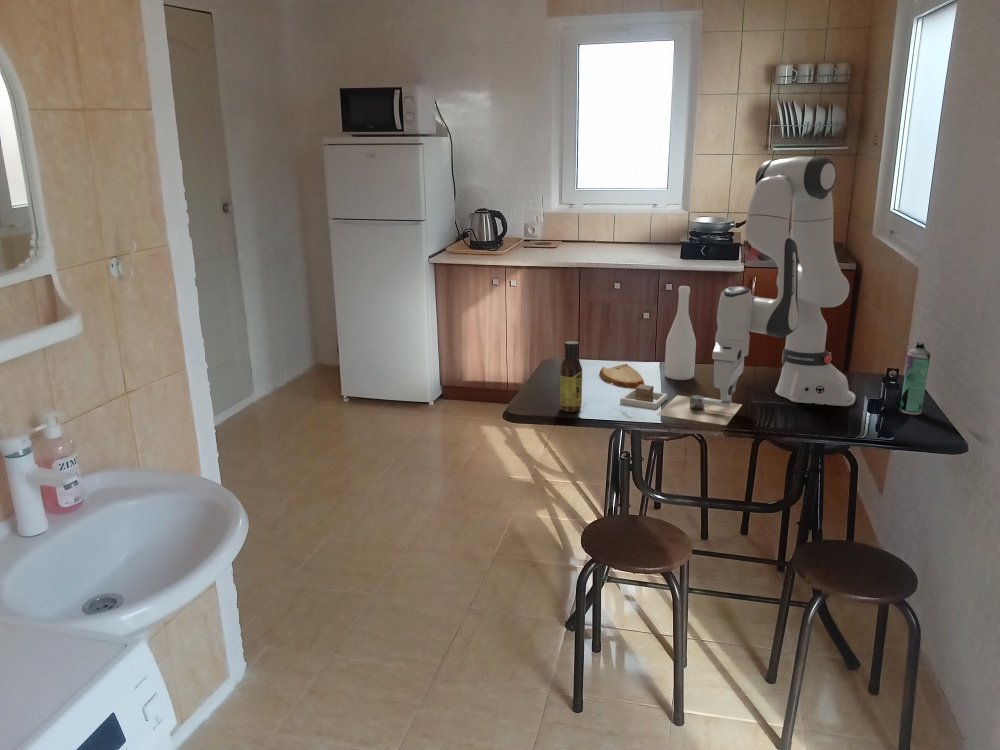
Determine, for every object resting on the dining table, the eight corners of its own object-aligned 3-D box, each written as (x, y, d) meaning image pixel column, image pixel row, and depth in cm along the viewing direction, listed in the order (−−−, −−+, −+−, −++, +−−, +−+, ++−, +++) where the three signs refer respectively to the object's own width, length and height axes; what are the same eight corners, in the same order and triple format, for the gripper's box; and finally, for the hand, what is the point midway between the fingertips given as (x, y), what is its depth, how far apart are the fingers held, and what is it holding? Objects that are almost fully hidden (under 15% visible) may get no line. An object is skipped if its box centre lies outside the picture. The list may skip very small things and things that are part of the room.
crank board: (741, 409, 219) (742, 404, 218) (726, 430, 202) (726, 424, 201) (676, 400, 227) (677, 394, 227) (656, 419, 211) (656, 414, 210)
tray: (666, 403, 224) (667, 393, 223) (655, 413, 215) (656, 403, 214) (632, 398, 229) (632, 389, 228) (620, 408, 220) (620, 398, 219)
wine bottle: (688, 372, 256) (694, 284, 248) (697, 380, 247) (703, 288, 239) (661, 373, 256) (665, 284, 248) (668, 381, 247) (674, 289, 238)
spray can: (920, 410, 217) (931, 341, 212) (922, 415, 212) (932, 346, 207) (899, 407, 219) (908, 340, 214) (900, 413, 214) (910, 344, 209)
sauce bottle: (580, 414, 216) (581, 345, 210) (558, 412, 217) (559, 344, 211) (582, 406, 222) (584, 340, 216) (561, 405, 223) (562, 339, 218)
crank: (687, 408, 214) (689, 381, 212) (692, 404, 217) (694, 378, 215) (728, 415, 208) (730, 387, 206) (732, 411, 211) (734, 384, 209)
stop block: (639, 400, 225) (640, 384, 223) (652, 402, 223) (653, 386, 221) (635, 404, 221) (635, 387, 220) (648, 406, 219) (649, 389, 218)
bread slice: (641, 390, 238) (642, 379, 237) (587, 383, 246) (587, 372, 245) (658, 376, 253) (658, 365, 252) (606, 370, 262) (607, 359, 261)
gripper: (728, 338, 216) (724, 385, 220) (710, 354, 199) (707, 404, 202) (751, 340, 213) (747, 388, 217) (735, 357, 196) (731, 408, 199)
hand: (727, 396), depth 209 cm, fingers open, 7 cm apart
